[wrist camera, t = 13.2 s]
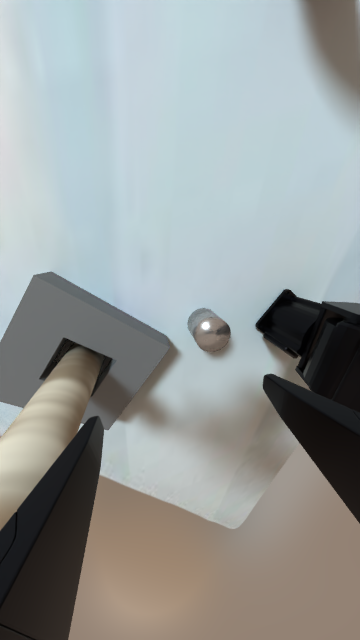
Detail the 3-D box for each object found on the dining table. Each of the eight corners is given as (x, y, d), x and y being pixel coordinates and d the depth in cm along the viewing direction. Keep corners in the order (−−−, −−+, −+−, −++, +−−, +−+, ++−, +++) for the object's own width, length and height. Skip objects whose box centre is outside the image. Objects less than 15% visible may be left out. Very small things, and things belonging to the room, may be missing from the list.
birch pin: (67, 339, 20) (-76, 502, 7) (104, 339, 20) (39, 482, 8) (71, 368, 21) (-40, 547, 8) (106, 366, 22) (54, 526, 9)
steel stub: (200, 302, 21) (211, 312, 18) (222, 318, 23) (237, 330, 19) (181, 327, 22) (189, 342, 18) (204, 341, 23) (215, 357, 20)
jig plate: (51, 271, 17) (33, 275, 14) (166, 335, 22) (169, 347, 19) (-3, 374, 19) (-26, 394, 17) (112, 410, 25) (108, 430, 22)
